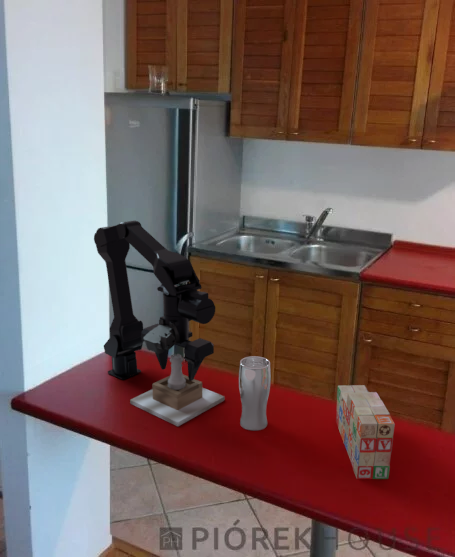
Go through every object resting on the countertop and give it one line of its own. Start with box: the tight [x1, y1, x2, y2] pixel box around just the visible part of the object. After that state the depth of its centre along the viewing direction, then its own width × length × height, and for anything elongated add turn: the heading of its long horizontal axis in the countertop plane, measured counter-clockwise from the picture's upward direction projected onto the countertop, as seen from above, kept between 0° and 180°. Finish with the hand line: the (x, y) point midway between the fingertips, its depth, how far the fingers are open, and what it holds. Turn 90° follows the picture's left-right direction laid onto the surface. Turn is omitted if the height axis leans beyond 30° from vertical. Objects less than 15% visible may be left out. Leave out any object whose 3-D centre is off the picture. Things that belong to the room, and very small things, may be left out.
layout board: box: [129, 374, 226, 427], centre depth 137 cm, size 16×16×5 cm
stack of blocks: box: [335, 384, 396, 480], centre depth 118 cm, size 21×6×12 cm, turn 1°
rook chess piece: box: [168, 353, 186, 390], centre depth 136 cm, size 4×4×8 cm
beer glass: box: [238, 355, 272, 432], centre depth 127 cm, size 7×7×15 cm
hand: (177, 374), depth 136 cm, fingers open, 9 cm apart
